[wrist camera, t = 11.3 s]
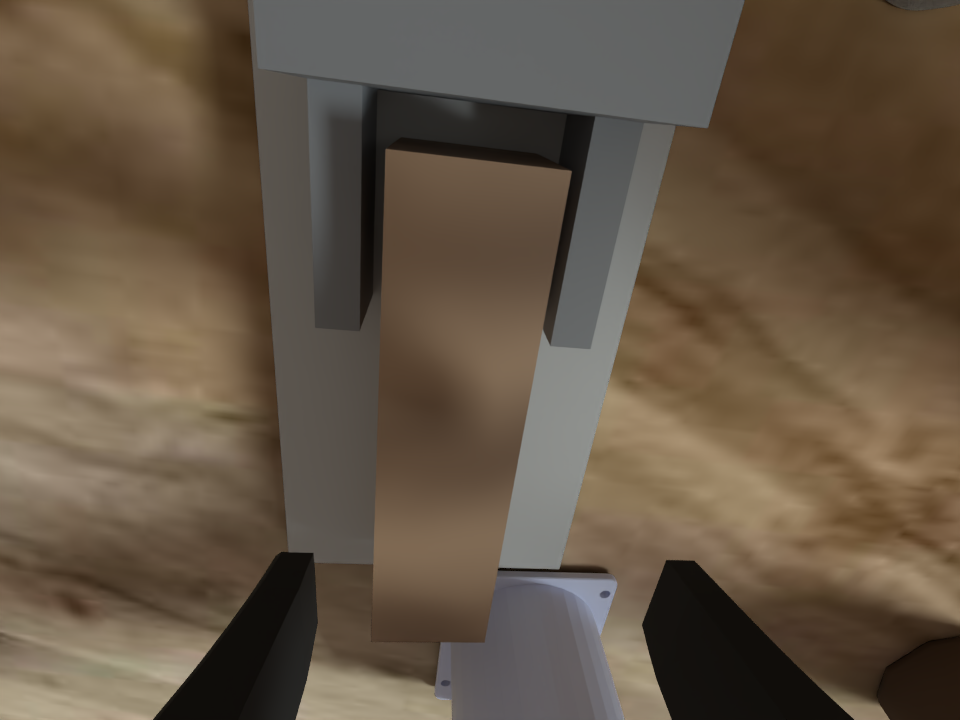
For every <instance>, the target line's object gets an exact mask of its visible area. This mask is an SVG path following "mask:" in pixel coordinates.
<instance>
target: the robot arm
mask: <svg viewBox="0 0 960 720" xmlns="http://www.w3.org/2000/svg"><path fill="white" fill-rule="evenodd" d="M616 589H617V581H616V579H615V577H614V576H613V575H612V574H607V573H568V572H528V571H498V572H497V578H496V583H495V589H494V594H493V599H492V605H491V610H490V616H489V621H488V626H487V632H486V637H485V643H460V642H440V650H439V658H438V666H437V674H436V682H435V696H436V697H437V698H438V699H441V700H452V720H625V719H624V715H623V712H622V709H621V705H620V702H619V698H618V695H617V692H616V688H615V685H614V682H613V678H612V675H611V672H610V668H609V665H608V662H607V658H606V655H605V652H604V648H603V645H602V642H601V638H600V635H601V632H602V629H603V626H604V623H605V621H606V618H607V615H608V612H609V609H610V606H611V603H612V600H613V597H614V594H615V591H616ZM317 624H318V619H317V602H316V585H315V567H314V553H300V552H281V553H279V554H278V555H277V556H276V557H275V558H274V560H273V561H272V563H271V565H270V566H269V568H268V569H267V571H266V572H265V574H264V575H263V577H262V578H261V580H260V581H259V583H258V584H257V586H256V587H255V589H254V590H253V592H252V593H251V595H250V596H249V597H248V599H247V600H246V602H245V603H244V604H243V606H242V607H241V609H240V610H239V611H238V613H237V614H236V616H235V617H234V618H233V620H232V621H231V622H230V624H229V625H228V626H227V628H226V629H225V630H224V632H223V633H222V634H221V636H220V637H219V638H218V640H217V641H216V642H215V644H214V645H213V646H212V647H211V649H210V650H209V651H208V653H207V654H206V655H205V657H204V658H203V659H202V661H201V662H200V663H199V664H198V666H197V667H196V668H195V669H194V671H193V672H192V673H191V674H190V676H189V677H188V678H187V679H186V680H185V682H184V683H183V684H182V685H181V686H180V688H179V689H178V690H177V691H176V692H175V694H174V695H173V696H172V697H171V698H170V700H169V701H168V702H167V703H166V704H165V706H164V707H163V708H162V709H161V711H160V712H159V713H158V714H157V715H156V717H155V718H154V719H153V720H295V719H296V716H297V712H298V709H299V705H300V702H301V698H302V695H303V691H304V688H305V684H306V681H307V676H308V671H309V666H310V661H311V656H312V650H313V645H314V640H315V634H316V629H317ZM642 626H643V630H644V634H645V638H646V642H647V646H648V650H649V654H650V658H651V661H652V665H653V668H654V672H655V675H656V679H657V681H658V684H659V687H660V690H661V692H662V695H663V698H664V700H665V703H666V705H667V708H668V711H669V713H670V716H671V719H672V720H854V719H853V718H852V717H851V716H850V715H849V714H847V713H846V712H845V711H844V710H843V709H842V708H841V707H840V706H839V705H838V704H837V703H836V702H835V701H833V700H832V699H831V698H830V697H829V696H828V695H827V694H826V693H825V692H824V691H823V690H822V689H821V688H819V687H818V686H817V685H816V684H815V683H814V682H813V681H812V680H811V679H810V678H809V677H808V676H807V675H806V674H805V673H804V672H803V671H802V670H801V669H800V668H799V667H798V666H797V665H796V664H795V663H794V662H793V661H792V660H791V659H790V658H789V657H788V656H786V655H785V654H784V653H783V652H782V651H781V649H780V648H779V647H778V646H777V645H776V644H775V643H774V642H773V641H772V640H771V639H770V638H769V637H768V636H767V635H766V634H765V633H764V632H763V631H762V630H761V629H760V628H759V627H758V626H757V625H756V624H755V623H754V622H753V621H752V620H751V619H750V618H749V617H748V616H747V615H746V614H745V613H744V612H743V611H742V610H741V609H740V608H739V607H738V605H737V604H736V603H735V602H734V601H733V600H732V599H731V598H730V597H729V596H728V595H727V594H726V593H725V592H724V591H723V590H722V589H721V588H720V587H719V586H718V585H717V584H716V583H715V582H714V580H713V579H712V578H711V577H710V576H709V575H708V574H707V573H706V572H705V571H704V570H703V569H702V568H701V567H700V566H699V565H698V564H697V563H696V562H695V561H683V560H666V563H665V565H664V568H663V571H662V573H661V576H660V579H659V581H658V584H657V587H656V589H655V592H654V594H653V597H652V600H651V602H650V605H649V608H648V610H647V613H646V616H645V618H644V621H643V624H642Z"/></svg>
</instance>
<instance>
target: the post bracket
mask: <svg viewBox="0 0 960 720" xmlns="http://www.w3.org/2000/svg"><path fill="white" fill-rule="evenodd" d="M744 1H745V0H248V11H249V25H250V38H251V52H252V65H253V79H254V92H255V106H256V119H257V133H258V147H259V160H260V174H261V187H262V201H263V214H264V228H265V241H266V255H267V268H268V282H269V295H270V309H271V323H272V336H273V350H274V363H275V377H276V390H277V404H278V417H279V431H280V444H281V458H282V471H283V485H284V499H285V512H286V526H287V539H288V552H300V553H314V563H338V564H373V560H374V526H375V492H376V458H377V424H378V390H379V356H380V321H381V287H382V253H383V219H384V185H385V151H386V148H387V147H389V146H390V145H391V144H393V143H394V142H395V141H397V140H398V139H399V138H401V137H404V138H412V139H421V140H429V141H437V142H445V143H454V144H462V145H470V146H478V147H487V148H495V149H503V150H511V151H520V152H528V153H536V154H539V155H541V156H543V157H545V158H547V159H549V160H551V161H553V162H555V163H557V164H559V165H561V166H563V167H565V168H567V169H569V170H571V171H572V173H571V179H570V184H569V190H568V195H567V200H566V206H565V211H564V217H563V222H562V227H561V233H560V238H559V244H558V249H557V254H556V260H555V265H554V271H553V276H552V281H551V287H550V292H549V297H548V303H547V308H546V314H545V319H544V324H543V330H542V335H541V341H540V346H539V351H538V357H537V362H536V368H535V373H534V378H533V384H532V389H531V395H530V400H529V405H528V411H527V416H526V421H525V427H524V432H523V438H522V443H521V448H520V454H519V459H518V465H517V470H516V475H515V481H514V486H513V492H512V497H511V502H510V508H509V513H508V519H507V524H506V529H505V535H504V540H503V545H502V551H501V556H500V562H499V567H498V568H532V569H559V568H560V565H561V561H562V557H563V553H564V549H565V546H566V542H567V538H568V534H569V530H570V527H571V523H572V519H573V515H574V511H575V508H576V504H577V500H578V496H579V492H580V489H581V485H582V481H583V477H584V473H585V470H586V466H587V462H588V458H589V454H590V451H591V447H592V443H593V439H594V435H595V432H596V428H597V424H598V420H599V416H600V413H601V409H602V405H603V401H604V397H605V394H606V390H607V386H608V382H609V378H610V375H611V371H612V367H613V363H614V359H615V356H616V352H617V348H618V344H619V340H620V337H621V333H622V329H623V325H624V321H625V318H626V314H627V310H628V306H629V302H630V299H631V295H632V291H633V287H634V283H635V280H636V276H637V272H638V268H639V264H640V261H641V257H642V253H643V249H644V245H645V242H646V238H647V234H648V230H649V226H650V223H651V219H652V215H653V211H654V207H655V204H656V200H657V196H658V192H659V188H660V185H661V181H662V177H663V173H664V169H665V166H666V162H667V158H668V154H669V150H670V147H671V143H672V139H673V135H674V131H675V128H676V126H686V127H698V128H708V126H709V122H710V119H711V115H712V112H713V108H714V105H715V101H716V98H717V94H718V91H719V88H720V84H721V81H722V77H723V74H724V70H725V67H726V63H727V60H728V56H729V53H730V49H731V46H732V43H733V39H734V36H735V32H736V29H737V25H738V22H739V18H740V15H741V11H742V8H743V5H744Z"/></svg>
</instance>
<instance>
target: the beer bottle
mask: <svg viewBox="0 0 960 720" xmlns="http://www.w3.org/2000/svg"><path fill="white" fill-rule="evenodd" d="M877 698H878V702H879V704H880V705H881V707H882V708H883V710H884V711H885V713H886V714H887V716H888V717H889V719H890V720H960V637H954V638H948V639H942V640H936V641H930V642H927V643H925V644H923V645H922V646H920V647H919V648H917V649H915V650H914V651H912V652H911V653H909V654H908V655H906V656H904V657H903V658H901V659H900V660H898V661H896V662H895V663H893V664H892V665H890V666H888V667H887V668H886V670H885V673H884V676H883V679H882V681H881V684H880V687H879V690H878V692H877Z"/></svg>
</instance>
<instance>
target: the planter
mask: <svg viewBox="0 0 960 720" xmlns="http://www.w3.org/2000/svg"><path fill="white" fill-rule="evenodd" d="M886 1H888V2H889V3H891V4H892V5H894V6H896V7H899V8H902V9H906V10H928V9H936V8H943V7H949V6H954V5H959V4H960V0H886Z"/></svg>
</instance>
